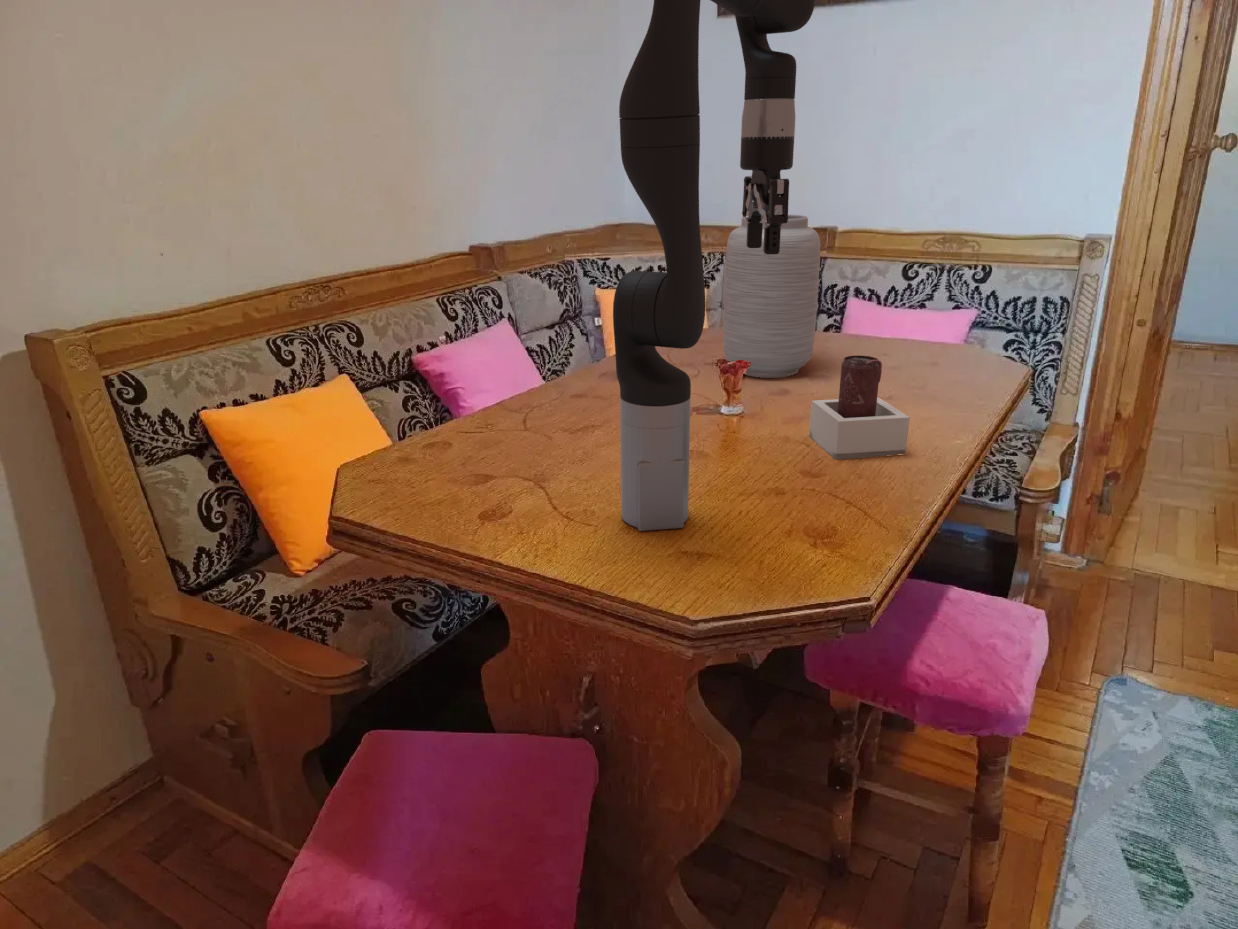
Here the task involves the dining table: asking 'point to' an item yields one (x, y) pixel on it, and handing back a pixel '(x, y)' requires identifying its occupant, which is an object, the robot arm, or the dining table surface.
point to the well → (858, 431)
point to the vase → (772, 300)
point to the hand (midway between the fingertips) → (762, 250)
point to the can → (859, 386)
